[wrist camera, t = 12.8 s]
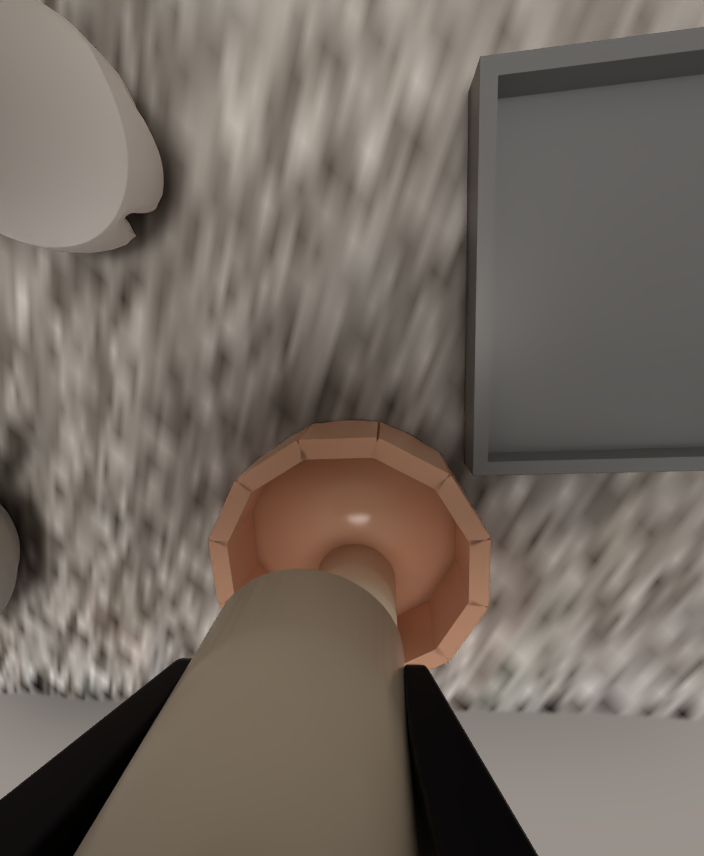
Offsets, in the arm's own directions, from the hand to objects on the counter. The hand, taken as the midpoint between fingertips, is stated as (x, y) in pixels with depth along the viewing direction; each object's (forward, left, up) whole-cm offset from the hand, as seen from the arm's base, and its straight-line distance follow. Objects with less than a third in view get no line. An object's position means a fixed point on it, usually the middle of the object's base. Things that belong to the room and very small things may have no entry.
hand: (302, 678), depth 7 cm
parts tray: (-13, -8, -11) cm, 19 cm away
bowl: (0, +3, -11) cm, 12 cm away
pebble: (0, 0, -1) cm, 1 cm away
